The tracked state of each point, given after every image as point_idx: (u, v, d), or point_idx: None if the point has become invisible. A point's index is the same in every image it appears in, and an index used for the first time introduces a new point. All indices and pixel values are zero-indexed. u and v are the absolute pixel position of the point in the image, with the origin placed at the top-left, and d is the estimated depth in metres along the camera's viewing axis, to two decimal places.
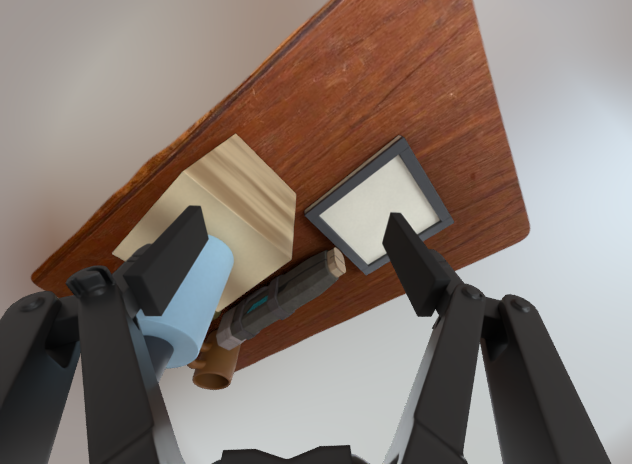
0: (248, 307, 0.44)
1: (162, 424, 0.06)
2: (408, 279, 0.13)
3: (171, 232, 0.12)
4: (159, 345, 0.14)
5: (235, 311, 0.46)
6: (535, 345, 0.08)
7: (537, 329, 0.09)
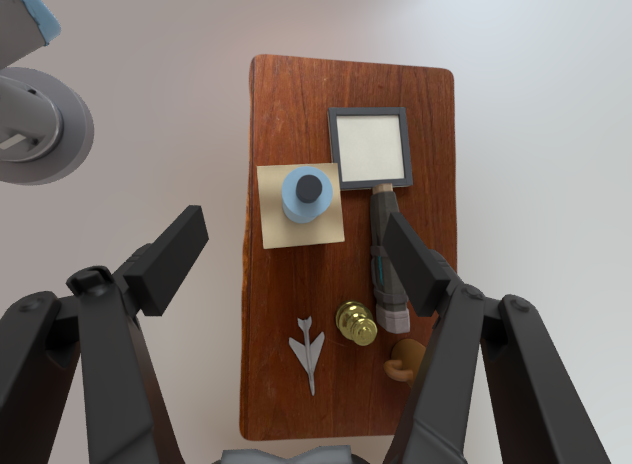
0: (380, 284, 0.47)
1: (162, 424, 0.06)
2: (408, 279, 0.13)
3: (171, 232, 0.12)
4: None
5: (378, 303, 0.48)
6: (535, 345, 0.08)
7: (537, 329, 0.09)
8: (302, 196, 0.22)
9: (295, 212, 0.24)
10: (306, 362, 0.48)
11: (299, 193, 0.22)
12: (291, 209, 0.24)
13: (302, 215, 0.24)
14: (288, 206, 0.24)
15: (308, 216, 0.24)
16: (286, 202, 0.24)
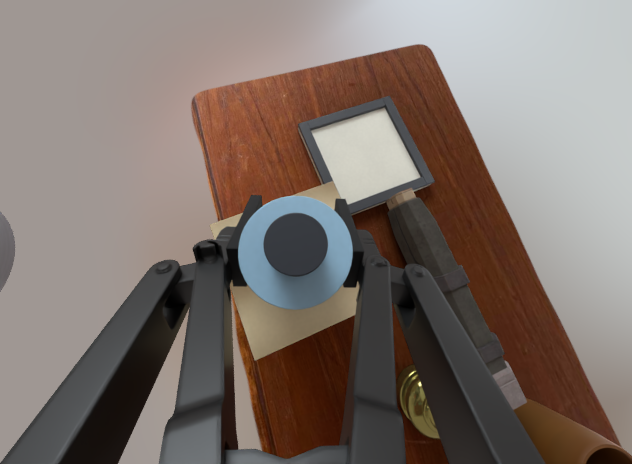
0: None
1: (229, 397, 0.07)
2: None
3: (247, 216, 0.14)
4: None
5: None
6: (434, 305, 0.09)
7: (432, 289, 0.10)
8: (285, 271, 0.09)
9: (283, 304, 0.10)
10: None
11: (275, 266, 0.09)
12: (272, 301, 0.10)
13: (300, 306, 0.10)
14: (263, 296, 0.10)
15: (314, 303, 0.11)
16: (257, 288, 0.10)
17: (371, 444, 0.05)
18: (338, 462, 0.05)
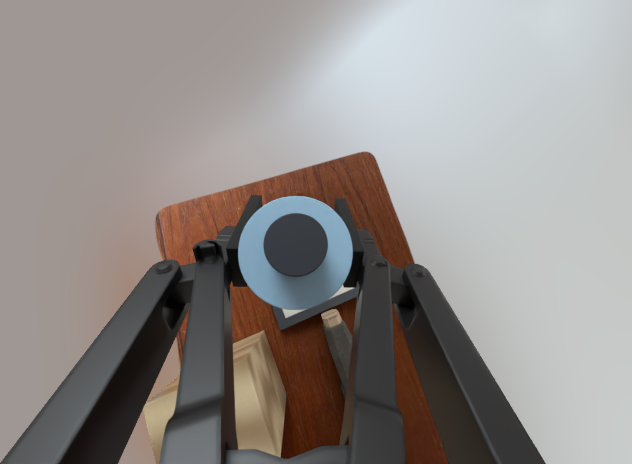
0: None
1: (229, 397, 0.07)
2: None
3: (247, 216, 0.14)
4: None
5: None
6: (434, 304, 0.09)
7: (432, 289, 0.10)
8: (285, 271, 0.09)
9: (283, 305, 0.10)
10: None
11: (275, 266, 0.09)
12: (272, 301, 0.10)
13: (300, 306, 0.10)
14: (263, 296, 0.10)
15: (314, 304, 0.11)
16: (257, 289, 0.10)
17: (371, 444, 0.05)
18: (338, 462, 0.05)
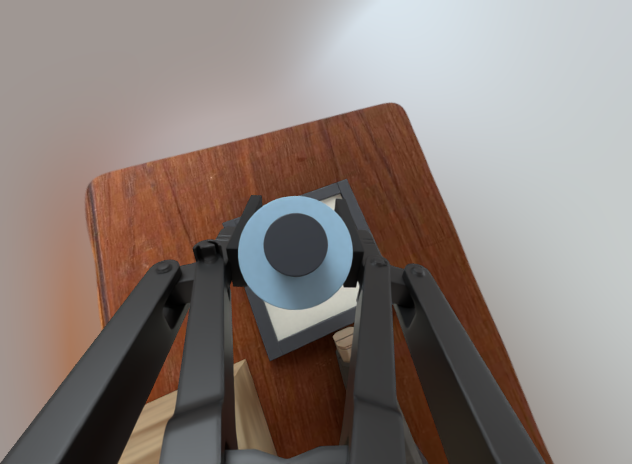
0: None
1: (229, 397, 0.07)
2: None
3: (247, 216, 0.14)
4: None
5: None
6: (434, 305, 0.09)
7: (433, 289, 0.10)
8: (285, 271, 0.09)
9: (283, 305, 0.10)
10: None
11: (275, 266, 0.09)
12: (272, 301, 0.10)
13: (300, 306, 0.10)
14: (263, 296, 0.10)
15: (314, 304, 0.11)
16: (256, 289, 0.10)
17: (371, 444, 0.05)
18: (338, 462, 0.05)
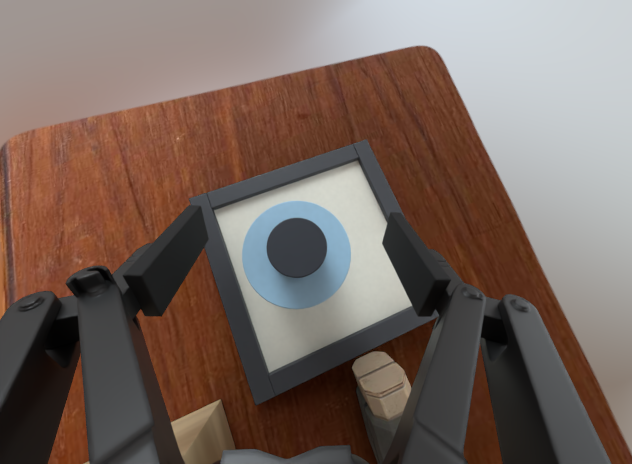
0: None
1: (162, 424, 0.06)
2: (408, 279, 0.13)
3: (171, 232, 0.12)
4: None
5: None
6: (535, 345, 0.08)
7: (537, 329, 0.09)
8: (286, 273, 0.09)
9: (284, 304, 0.11)
10: None
11: (278, 268, 0.09)
12: (274, 301, 0.11)
13: (301, 306, 0.11)
14: (266, 296, 0.11)
15: (314, 303, 0.11)
16: (260, 289, 0.11)
17: None
18: None
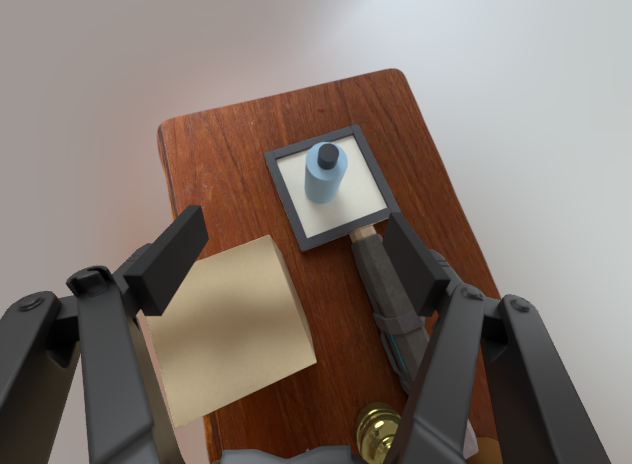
0: (405, 373, 0.30)
1: (162, 424, 0.06)
2: (408, 279, 0.13)
3: (171, 232, 0.12)
4: None
5: None
6: (535, 345, 0.08)
7: (537, 329, 0.09)
8: (325, 160, 0.27)
9: (322, 178, 0.29)
10: None
11: (322, 159, 0.27)
12: (318, 177, 0.29)
13: (328, 179, 0.29)
14: (315, 176, 0.29)
15: (333, 179, 0.29)
16: (313, 173, 0.29)
17: None
18: None
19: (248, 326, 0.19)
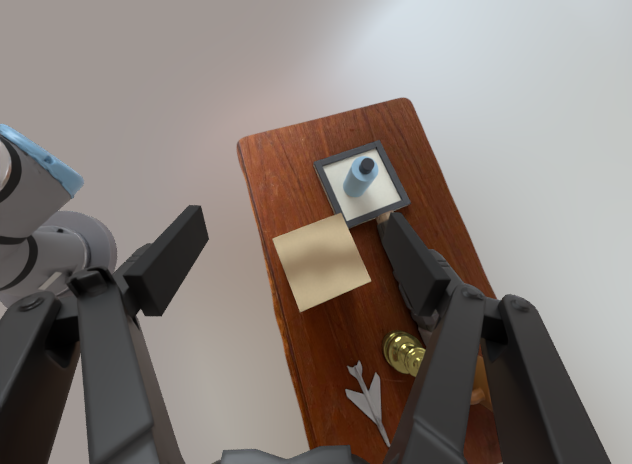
0: None
1: (162, 424, 0.06)
2: (408, 279, 0.13)
3: (171, 232, 0.12)
4: None
5: (421, 327, 0.47)
6: (535, 345, 0.08)
7: (537, 329, 0.09)
8: (366, 168, 0.43)
9: (362, 180, 0.45)
10: (370, 411, 0.45)
11: (364, 168, 0.43)
12: (360, 179, 0.45)
13: (366, 180, 0.45)
14: (358, 178, 0.45)
15: (369, 180, 0.45)
16: (356, 176, 0.45)
17: None
18: None
19: (333, 261, 0.35)
